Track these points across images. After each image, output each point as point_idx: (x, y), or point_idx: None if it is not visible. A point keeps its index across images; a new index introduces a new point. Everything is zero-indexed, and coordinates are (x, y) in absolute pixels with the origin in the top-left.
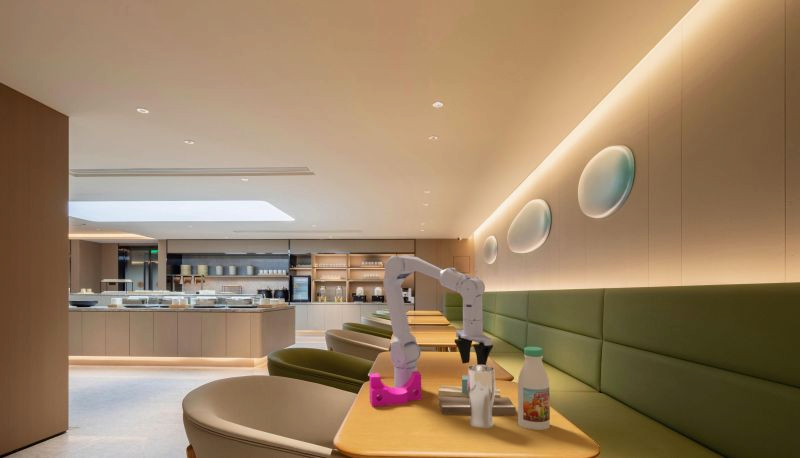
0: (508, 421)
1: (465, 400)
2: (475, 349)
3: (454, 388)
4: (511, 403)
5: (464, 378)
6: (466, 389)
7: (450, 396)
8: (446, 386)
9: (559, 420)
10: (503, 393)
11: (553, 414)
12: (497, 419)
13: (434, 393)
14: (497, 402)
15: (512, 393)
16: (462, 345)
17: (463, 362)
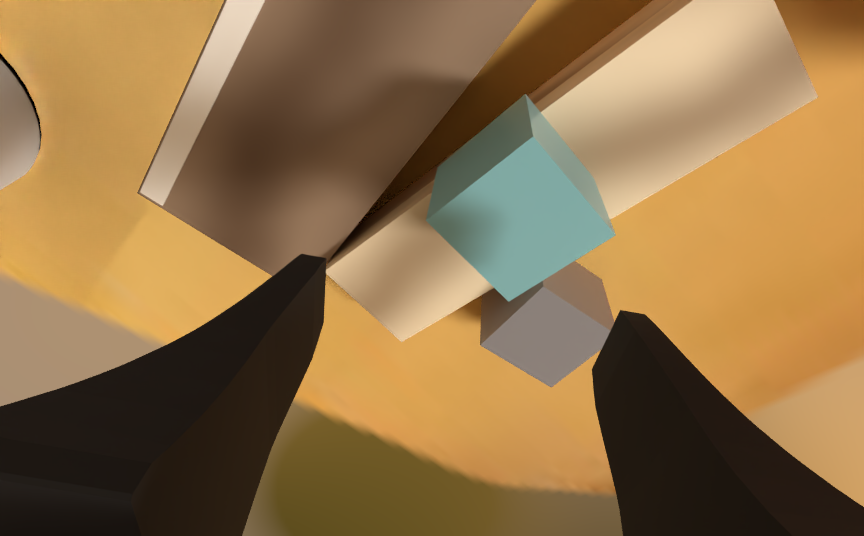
0: (82, 53)
1: (419, 15)
2: (162, 416)
3: (653, 135)
4: (204, 227)
5: (535, 178)
6: (494, 130)
7: (624, 34)
8: (748, 120)
9: (29, 273)
10: (455, 370)
11: (106, 311)
12: (134, 19)
13: (839, 47)
14: (258, 177)
15: (425, 395)
16: (718, 531)
17: (623, 316)
